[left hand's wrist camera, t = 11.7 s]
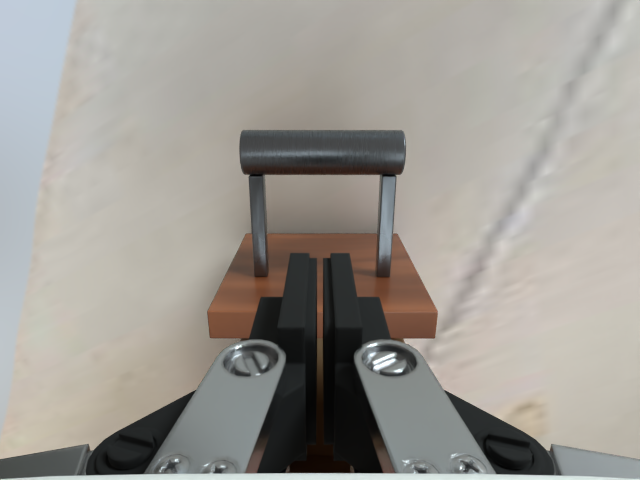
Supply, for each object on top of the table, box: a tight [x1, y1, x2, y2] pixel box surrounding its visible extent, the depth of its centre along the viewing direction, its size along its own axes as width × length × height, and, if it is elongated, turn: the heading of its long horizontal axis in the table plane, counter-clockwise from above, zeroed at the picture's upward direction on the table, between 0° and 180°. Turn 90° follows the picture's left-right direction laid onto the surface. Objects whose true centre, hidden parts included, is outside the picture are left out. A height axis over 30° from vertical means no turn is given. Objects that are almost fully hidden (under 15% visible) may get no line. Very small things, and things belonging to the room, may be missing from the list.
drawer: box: [207, 130, 438, 473], centre depth 22 cm, size 22×9×9 cm, turn 0°
